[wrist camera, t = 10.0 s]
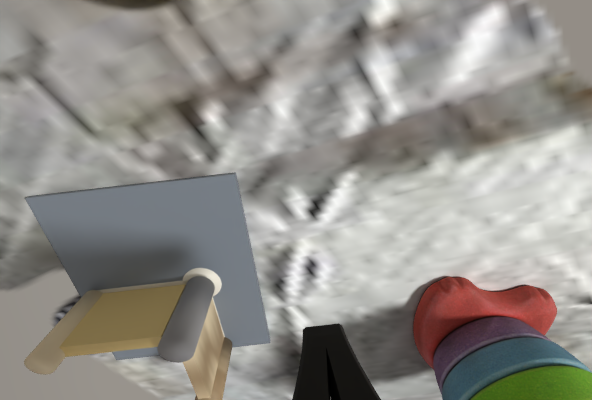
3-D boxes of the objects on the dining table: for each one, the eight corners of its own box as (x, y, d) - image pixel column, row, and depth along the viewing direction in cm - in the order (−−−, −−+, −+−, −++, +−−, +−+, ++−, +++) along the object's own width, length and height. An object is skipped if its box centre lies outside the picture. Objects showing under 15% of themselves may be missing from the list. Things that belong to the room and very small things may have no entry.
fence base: (234, 350, 23) (221, 424, 18) (213, 352, 23) (194, 427, 18) (218, 295, 21) (198, 364, 16) (194, 298, 21) (167, 367, 16)
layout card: (270, 339, 23) (270, 343, 23) (118, 356, 23) (116, 360, 23) (235, 172, 17) (234, 174, 17) (28, 196, 17) (24, 198, 17)
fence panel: (211, 274, 19) (189, 336, 15) (217, 296, 20) (198, 360, 16) (79, 289, 19) (16, 354, 15) (90, 310, 20) (34, 378, 16)
